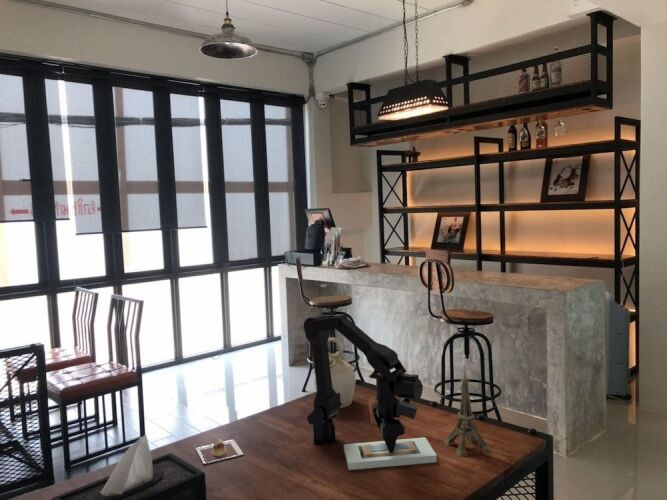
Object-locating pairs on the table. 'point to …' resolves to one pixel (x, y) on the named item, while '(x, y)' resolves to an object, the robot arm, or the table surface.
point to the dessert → (219, 449)
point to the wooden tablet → (372, 412)
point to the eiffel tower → (466, 424)
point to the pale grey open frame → (356, 462)
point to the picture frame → (383, 451)
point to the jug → (341, 375)
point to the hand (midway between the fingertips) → (388, 446)
